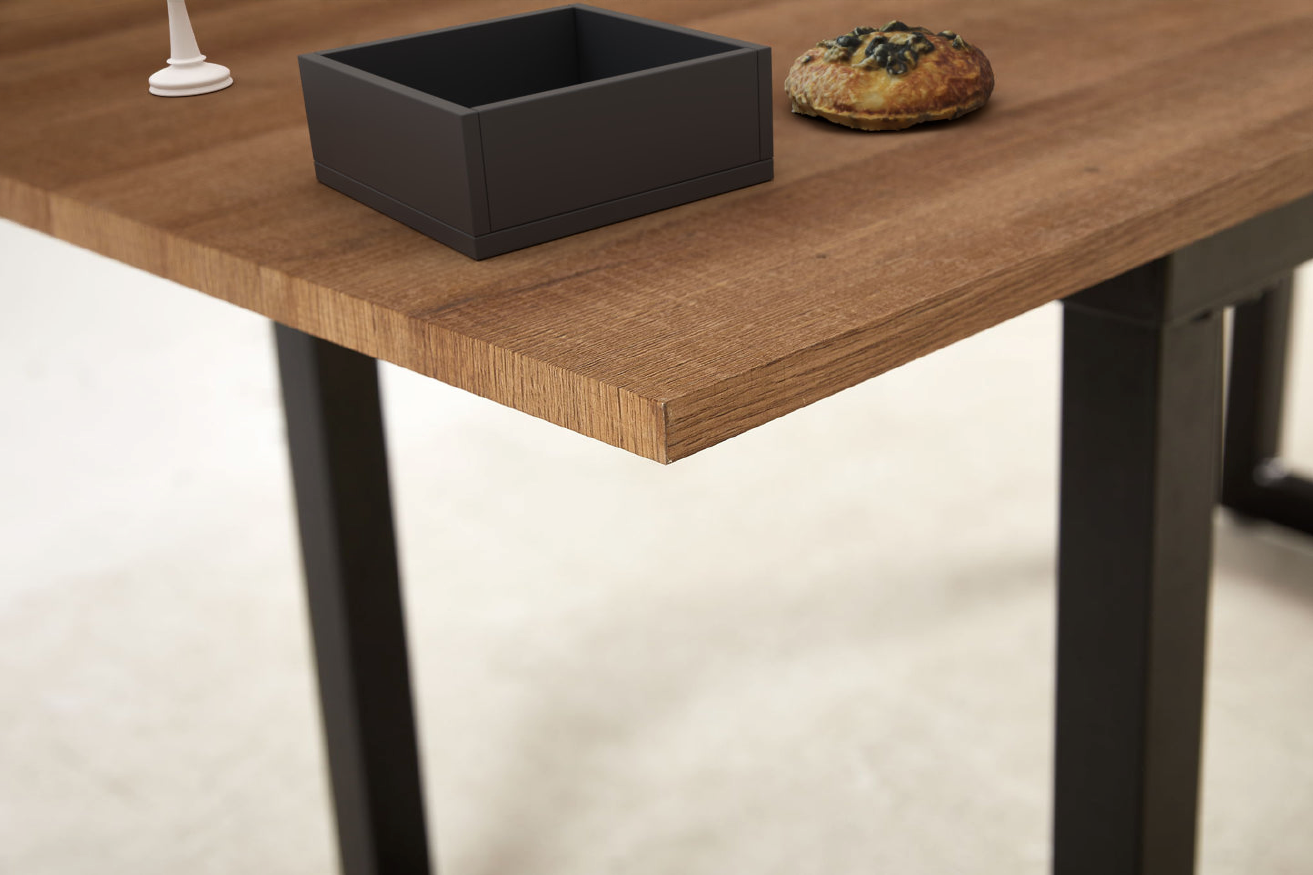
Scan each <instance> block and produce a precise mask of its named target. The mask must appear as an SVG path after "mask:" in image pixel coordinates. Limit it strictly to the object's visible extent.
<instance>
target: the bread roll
mask: <svg viewBox="0 0 1313 875" xmlns="http://www.w3.org/2000/svg"><path fill="white" fill-rule="evenodd" d="M995 82H996V81H995V74H994V71H993V68H992V64H991V62H990V60H989V58H988V57H987V56H986V55H985V53H984V52H983V50H982V49H980V48H979V47H977V46H975V45H974V43H972V42H967V41H966V40H964V39H963V38H962V36H961V35H959V34H957V33H956V32H954V31H953V30H951V29H950V30H943V31H940V32H938V33H933V32H932V31H931V30H929V29H927V28H926V27H922V26H919V25H918V26H909V25H907V24H905V23H904V22H903V21H899V20H897V19H894V20H891V21H888V22H886V23H885V24H883V25H881V27H880V28H878V27H871V26H870V25H869V26H868V25H867V26H866V25H865V26H857V27H855V28H854V29H853V30H852V31H850V32H848V33H847V34H845V35H843V34H841V35H838V36H837V37H836V38H830V39H829V40H828V39H823V40H822V41H820V42H816V45H815V47H813V48H809V49H808V50H807V51H805V52H804V53H802V55H800V56H799V57H797V58H796V59H795V61H794V63H793V65H792V66H791V67H790V70H789V72H788V76H787V78H786V79H785V81H784V84H783V85H784V91H785V94H786V95H787V97H788V98H789V100H791V102H792V105H791V106H792V108H791V109H792V110H791V112H792V113H798V114H800V113H801V115H806V114H807V115H808V116H811V117H817V116H819V117H823V118H824V119H827V120H828V121H829V122H832V123H834V124H840V125H843V126H846V127H850V129H857V130H858V129H859V130H864V131H877V132H878V131H880V130H881V131H882V130H884V131H887V130H888V131H889V130H895V131H896V132H900V130H901V129H908V128H910V127H911V126H913V125H916V124H917V123H919V124H922V123H924V122H926V121H928V122H931V121H938V120H939V121H940V120H945V119H946V120H947V119H948V120H949V121H951V120H955V119H957V118H960V117H962V116H964V115H965V114H967V113H970V112H973V111H976V110H978V109H981V108H982V107H983V106H985V105H986V104H987V103H988V102H989V100H990V98H991V96H992V93H993V92H994V88H995V85H996V83H995Z"/></svg>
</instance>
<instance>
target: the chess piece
mask: <svg viewBox="0 0 1313 875" xmlns="http://www.w3.org/2000/svg"><path fill="white" fill-rule="evenodd" d="M166 2H167V12H168V23H169V24H168V25H169V38H170V40H169V41H170V57H169V58H168V59H167V60H166V63H167V64H169V66H167V67H165V68H162V69H159V70H158V71H156V72H155V73H153V74H151V75H150V76H149V78H148V84H149V85H150V86H149V88H148V91H149V93H150V94H152V95H156V96H161V97H187V96H188V97H189V96H195V95H196V96H197V95H202V94H208V93H211V92H212V93H213V92H216V91H220V90H222V89H225V88H228V87H229V86H231V85H232V84H233V83H234V79H233V78H232V77H231V70H230V69H229V68H228V67H226V66H224V65H222V64H218V63H212V62H206V61H205V60H206V59H207V56H206V55H204V54H202V53H201V51H200V49H199V45H198V43H197V39H196V36H195V34H194V30H193V27H192V24H191V20H190V17H189V14H188V13H189V12H188V9H187V6H186V2H185V0H166Z"/></svg>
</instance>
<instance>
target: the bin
mask: <svg viewBox="0 0 1313 875" xmlns="http://www.w3.org/2000/svg"><path fill="white" fill-rule="evenodd" d="M772 52H773V51H772V47H771V46H768V45H764V44H761V43H756V42H751V41H747V40H742V39H738V38H734V37H729V36H725V35H722V34H721V35H720V34H716V33H712V32H707V31H703V30H699V29H694V28H690V27H685V26H681V25H677V24H673V23H670V22H669V23H668V22H664V21H660V20H655V19H651V18H646V17H642V16H638V15H634V14H629V13H625V12H622V11H621V12H620V11H616V10H612V9H608V8H603V7H599V6H594V5H590V4H586V3H581V2H574V3H569V4H564V5H559V6H553V7H548V8H542V9H537V10H532V11H526V12H521V13H515V14H510V15H505V16H504V15H503V16H499V17H494V18H488V19H484V20H478V21H473V22H467V23H462V24H457V25H451V26H445V27H441V28H435V29H430V30H429V29H428V30H425V31H420V32H414V33H408V34H403V35H398V36H392V37H386V38H382V39H376V40H371V41H366V42H359V43H354V44H349V45H344V46H339V47H333V48H328V49H322V50H317V51H313V52H307V53H302V54H298V55H297V64H298V70H299V76H300V84H301V90H302V94H303V96H302V97H303V101H304V108H305V115H306V121H307V128H308V134H309V141H310V147H311V154H312V159H313V165H314V170H315V171H314V172H315V178H316V181H318V182H320V183H322V184H324V185H325V186H328V187H330V188H332V189H334V190H336V191H337V192H340V193H341V194H344V195H345V196H347V197H349V198H352V199H354V200H356V201H358V202H359V203H362V204H363V205H366V206H368V207H370V208H371V209H374V210H376V211H378V212H380V213H381V214H384V215H385V216H388V217H390V218H392V219H393V220H395V221H398V222H400V223H401V224H404V225H405V226H407V227H410V228H411V229H414V230H415V231H417V232H419V233H422V234H424V235H425V236H427V237H429V238H432V239H433V240H436V241H437V242H440V243H442V244H443V245H445V246H447V247H449V248H451V249H454V250H456V251H457V252H460V253H461V254H463V255H466V256H468V257H469V258H471V259H473V260H475V261H480V260H484V259H487V258H492V257H496V256H497V255H502V254H506V253H510V252H513V251H517V250H521V249H523V248H528V247H531V246H534V245H539V244H541V243H542V244H543V243H545V242H549V241H554V240H557V239H560V238H564V237H567V236H571V235H575V234H577V233H578V234H579V233H582V232H586V231H589V230H592V229H596V228H600V227H603V226H607V225H611V224H615V223H619V222H622V221H626V220H629V219H632V218H636V217H640V216H643V215H647V214H651V213H654V212H658V211H661V210H666V209H669V208H673V207H676V206H680V205H684V204H687V203H691V202H694V201H699V200H702V199H705V198H709V197H713V196H716V195H720V194H724V193H727V192H730V191H734V190H738V189H742V188H745V187H748V186H753V185H756V184H760V183H763V182H767V181H771V180H774V179H775V161H774V160H775V159H774V158H775V157H774V156H775V155H774V154H775V148H774V104H773V103H774V102H773V101H774V100H773V98H774V97H773V96H774V95H773V56H772Z"/></svg>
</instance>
